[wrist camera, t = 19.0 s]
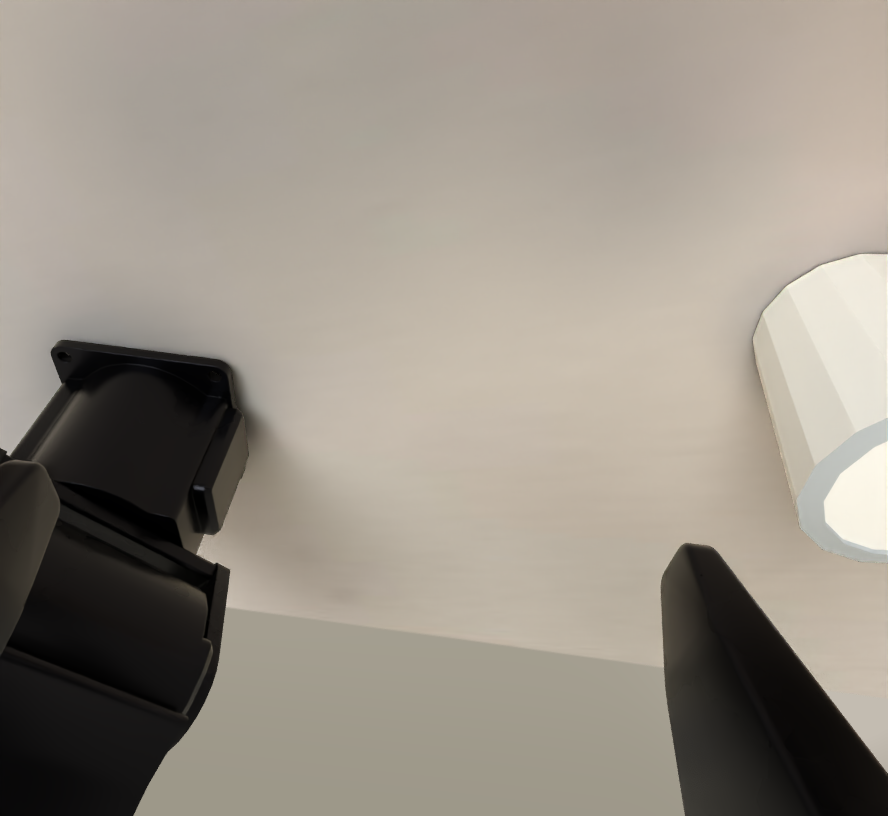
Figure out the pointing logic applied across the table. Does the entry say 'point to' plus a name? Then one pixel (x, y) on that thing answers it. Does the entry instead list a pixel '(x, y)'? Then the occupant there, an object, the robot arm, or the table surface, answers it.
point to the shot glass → (832, 401)
